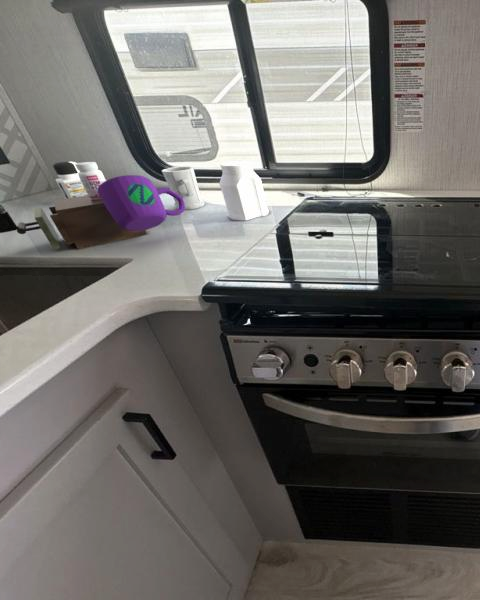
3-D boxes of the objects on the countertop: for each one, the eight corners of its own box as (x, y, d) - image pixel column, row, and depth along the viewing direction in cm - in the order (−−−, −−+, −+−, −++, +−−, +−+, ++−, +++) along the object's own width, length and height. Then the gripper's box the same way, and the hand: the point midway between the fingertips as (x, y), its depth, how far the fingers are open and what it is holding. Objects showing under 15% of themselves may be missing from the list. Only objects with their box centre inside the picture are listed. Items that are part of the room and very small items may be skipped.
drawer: (30, 254, 76) (8, 222, 72) (30, 241, 83) (10, 211, 79) (122, 235, 87) (107, 205, 82) (115, 224, 94) (102, 197, 90)
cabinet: (77, 249, 81) (55, 210, 76) (74, 236, 89) (53, 200, 84) (147, 233, 90) (131, 198, 85) (138, 223, 97) (123, 189, 92)
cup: (215, 203, 114) (203, 166, 108) (197, 211, 107) (183, 172, 100) (188, 202, 116) (175, 166, 109) (168, 210, 108) (153, 171, 102)
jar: (237, 222, 96) (222, 168, 88) (224, 215, 102) (208, 164, 94) (273, 213, 103) (262, 162, 95) (259, 207, 109) (247, 159, 101)
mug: (124, 215, 74) (101, 174, 73) (112, 236, 81) (91, 199, 80) (200, 208, 88) (182, 173, 87) (185, 227, 95) (168, 195, 94)
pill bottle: (98, 200, 83) (80, 165, 78) (85, 199, 84) (67, 164, 80) (117, 196, 87) (101, 161, 82) (105, 194, 88) (88, 161, 83)
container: (74, 204, 116) (53, 165, 109) (66, 201, 120) (45, 163, 113) (100, 199, 121) (82, 161, 114) (92, 196, 125) (73, 159, 118)
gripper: (-72, 143, 69) (-12, 227, 79) (-90, 149, 60) (-19, 244, 70) (-20, 139, 73) (31, 219, 83) (-29, 145, 64) (30, 234, 74)
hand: (8, 230), depth 76 cm, fingers closed
